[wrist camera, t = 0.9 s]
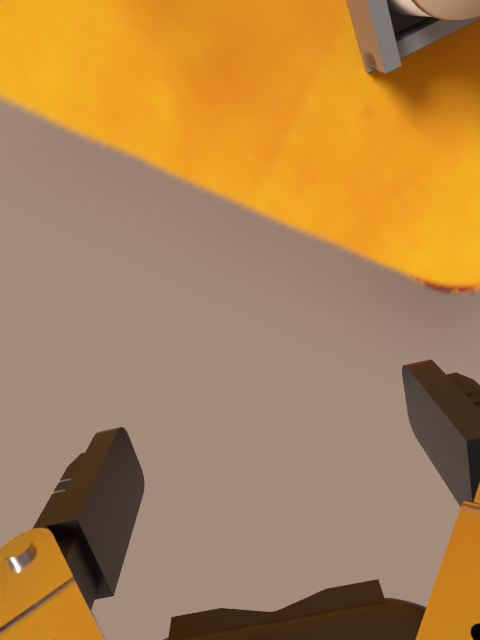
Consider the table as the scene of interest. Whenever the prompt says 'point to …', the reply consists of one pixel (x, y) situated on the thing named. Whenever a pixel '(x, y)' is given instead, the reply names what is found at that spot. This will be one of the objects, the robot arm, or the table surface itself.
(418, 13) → the beige domed canister
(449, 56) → the table surface
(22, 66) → the table surface
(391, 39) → the lane
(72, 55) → the table surface
